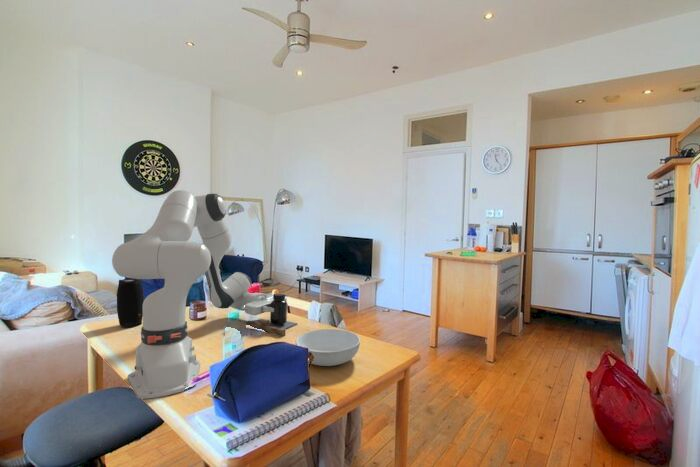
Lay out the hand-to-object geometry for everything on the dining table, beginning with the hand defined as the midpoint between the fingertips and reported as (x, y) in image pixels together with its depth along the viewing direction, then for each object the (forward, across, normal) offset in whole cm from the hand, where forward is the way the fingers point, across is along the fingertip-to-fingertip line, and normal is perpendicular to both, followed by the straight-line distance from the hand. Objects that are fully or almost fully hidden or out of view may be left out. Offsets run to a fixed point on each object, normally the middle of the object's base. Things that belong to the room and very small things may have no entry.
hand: (280, 307), depth 144 cm
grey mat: (-1, 0, +8) cm, 8 cm away
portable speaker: (-54, -32, +8) cm, 63 cm away
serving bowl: (+35, -17, +8) cm, 40 cm away
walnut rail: (-1, -8, +8) cm, 12 cm away
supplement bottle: (-1, 0, +7) cm, 7 cm away
